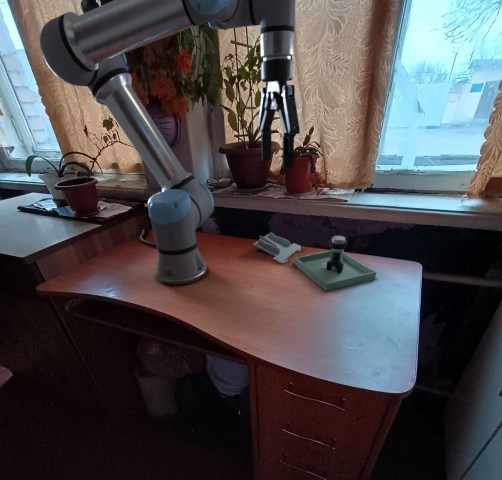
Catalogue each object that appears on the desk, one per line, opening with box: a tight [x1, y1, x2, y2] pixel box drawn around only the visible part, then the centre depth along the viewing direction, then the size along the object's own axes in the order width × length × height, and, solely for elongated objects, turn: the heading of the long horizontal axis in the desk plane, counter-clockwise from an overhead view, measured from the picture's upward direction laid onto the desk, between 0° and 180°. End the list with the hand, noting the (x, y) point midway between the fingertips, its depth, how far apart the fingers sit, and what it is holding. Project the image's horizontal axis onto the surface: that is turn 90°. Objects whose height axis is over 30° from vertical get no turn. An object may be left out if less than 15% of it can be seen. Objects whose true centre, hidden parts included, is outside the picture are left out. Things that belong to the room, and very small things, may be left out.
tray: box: [293, 249, 377, 292], centre depth 94 cm, size 19×16×2 cm
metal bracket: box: [252, 231, 302, 264], centre depth 107 cm, size 14×6×15 cm
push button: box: [322, 235, 349, 273], centre depth 92 cm, size 7×5×10 cm
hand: (276, 163), depth 85 cm, fingers open, 13 cm apart
